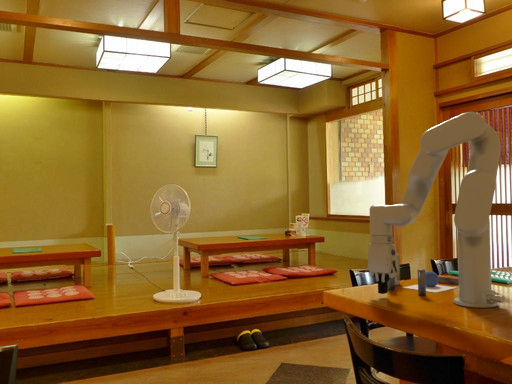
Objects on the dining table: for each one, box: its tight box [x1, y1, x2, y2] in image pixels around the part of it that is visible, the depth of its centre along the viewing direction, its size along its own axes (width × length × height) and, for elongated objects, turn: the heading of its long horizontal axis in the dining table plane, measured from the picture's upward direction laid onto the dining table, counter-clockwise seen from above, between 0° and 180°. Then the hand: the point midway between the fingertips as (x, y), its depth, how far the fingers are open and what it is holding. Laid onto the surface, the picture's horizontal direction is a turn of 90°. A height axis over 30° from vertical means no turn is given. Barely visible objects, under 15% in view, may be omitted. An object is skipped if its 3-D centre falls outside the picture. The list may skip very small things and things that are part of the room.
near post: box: [417, 268, 427, 297], centre depth 165 cm, size 3×3×9 cm
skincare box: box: [395, 253, 401, 287], centre depth 188 cm, size 6×4×12 cm
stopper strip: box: [437, 274, 459, 286], centre depth 187 cm, size 16×2×2 cm, turn 36°
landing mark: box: [402, 283, 457, 294], centre depth 178 cm, size 14×14×1 cm
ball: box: [425, 270, 439, 287], centre depth 181 cm, size 6×6×6 cm
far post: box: [388, 277, 396, 292], centre depth 176 cm, size 3×3×9 cm
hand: (382, 293), depth 163 cm, fingers closed
